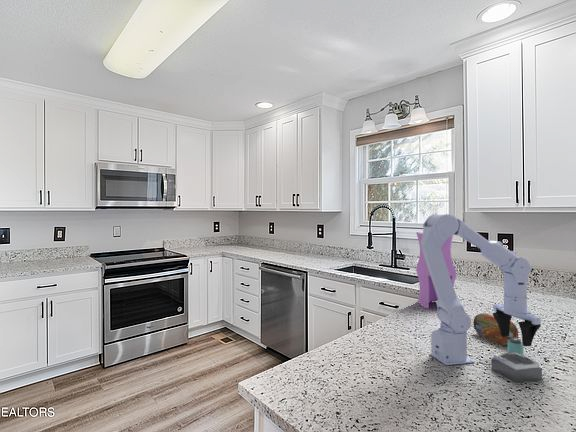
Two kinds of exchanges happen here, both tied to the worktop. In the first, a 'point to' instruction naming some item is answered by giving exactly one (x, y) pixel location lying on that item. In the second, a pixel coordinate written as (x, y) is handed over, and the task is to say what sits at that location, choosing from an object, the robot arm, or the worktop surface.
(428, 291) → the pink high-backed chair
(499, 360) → the grey flat square block
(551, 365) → the worktop surface
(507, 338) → the tin
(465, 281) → the worktop surface
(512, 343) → the teal capped cylinder
